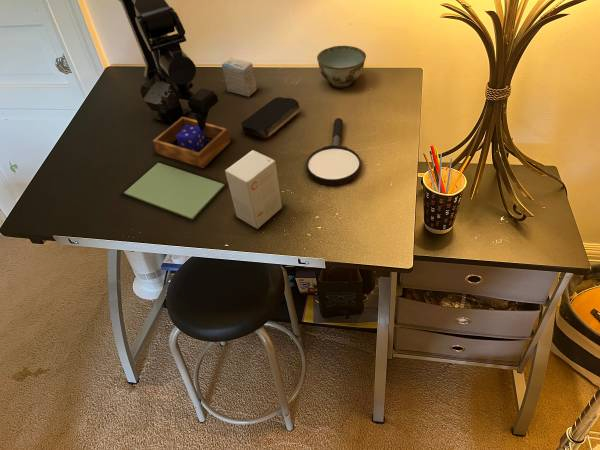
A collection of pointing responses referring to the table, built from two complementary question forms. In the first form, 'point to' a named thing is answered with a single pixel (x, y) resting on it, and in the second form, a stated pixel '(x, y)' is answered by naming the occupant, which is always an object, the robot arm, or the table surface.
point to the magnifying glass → (334, 161)
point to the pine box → (185, 155)
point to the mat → (175, 190)
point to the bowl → (341, 64)
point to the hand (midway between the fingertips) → (187, 125)
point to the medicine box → (239, 77)
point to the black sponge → (271, 117)
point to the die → (191, 138)
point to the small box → (254, 188)
